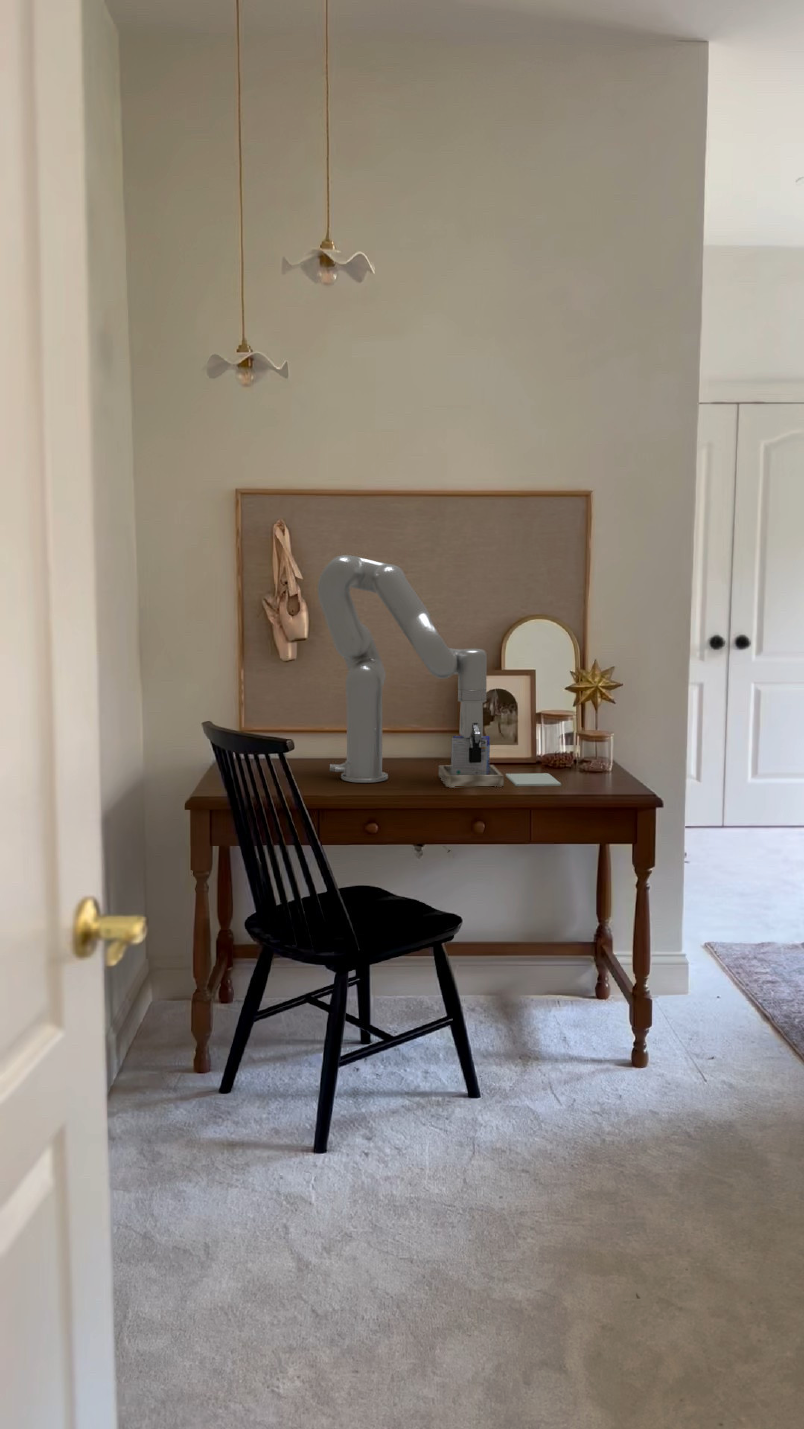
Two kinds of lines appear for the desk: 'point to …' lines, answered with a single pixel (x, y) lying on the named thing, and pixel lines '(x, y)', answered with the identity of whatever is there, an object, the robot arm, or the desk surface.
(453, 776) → the holder
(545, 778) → the mat
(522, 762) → the desk surface
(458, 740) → the ink cartridge box
